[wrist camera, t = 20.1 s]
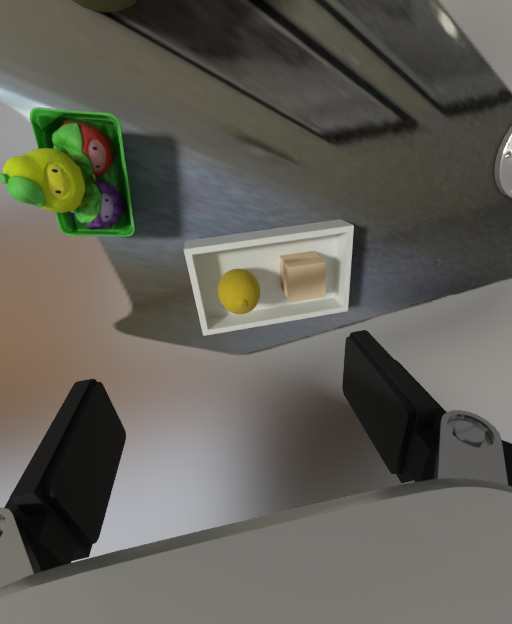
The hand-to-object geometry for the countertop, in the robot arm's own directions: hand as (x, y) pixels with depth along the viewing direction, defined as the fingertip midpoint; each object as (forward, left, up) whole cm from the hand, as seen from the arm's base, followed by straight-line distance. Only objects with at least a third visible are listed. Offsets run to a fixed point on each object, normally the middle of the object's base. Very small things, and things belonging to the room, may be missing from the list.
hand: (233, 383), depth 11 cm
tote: (-7, +8, -30) cm, 32 cm away
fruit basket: (+12, -7, -31) cm, 34 cm away
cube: (-11, +8, -30) cm, 33 cm away
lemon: (-2, +8, -30) cm, 31 cm away
